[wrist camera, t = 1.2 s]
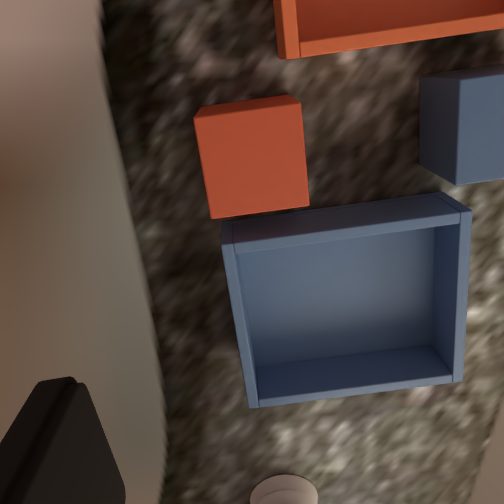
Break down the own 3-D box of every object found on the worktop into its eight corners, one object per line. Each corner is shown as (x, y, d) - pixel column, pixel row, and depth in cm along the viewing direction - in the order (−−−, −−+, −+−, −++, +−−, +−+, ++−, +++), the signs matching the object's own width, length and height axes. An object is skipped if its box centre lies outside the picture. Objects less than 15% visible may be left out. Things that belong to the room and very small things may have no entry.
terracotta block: (214, 193, 25) (210, 219, 21) (200, 106, 23) (192, 117, 19) (297, 181, 25) (310, 206, 21) (289, 93, 23) (301, 101, 19)
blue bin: (247, 370, 29) (248, 409, 26) (222, 221, 26) (220, 244, 22) (438, 345, 29) (463, 381, 26) (442, 191, 25) (473, 210, 22)
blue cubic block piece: (418, 164, 25) (455, 186, 21) (419, 75, 23) (459, 79, 19) (502, 153, 25) (557, 172, 20) (509, 62, 23) (570, 63, 19)
